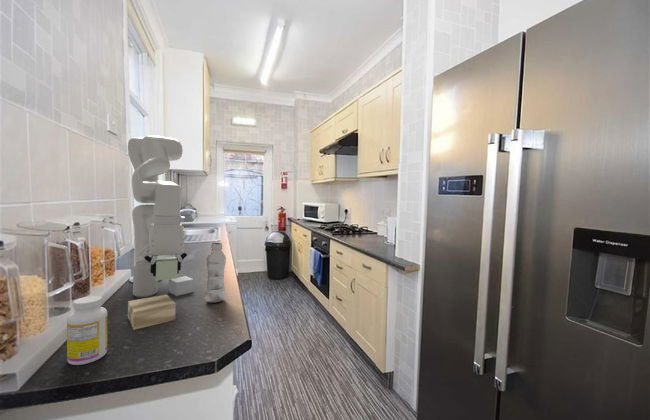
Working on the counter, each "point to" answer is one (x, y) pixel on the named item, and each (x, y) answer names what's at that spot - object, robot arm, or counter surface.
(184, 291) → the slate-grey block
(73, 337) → the supplement bottle
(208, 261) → the plastic bottle
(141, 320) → the beech block
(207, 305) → the counter surface
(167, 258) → the sage-green block
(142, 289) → the can
